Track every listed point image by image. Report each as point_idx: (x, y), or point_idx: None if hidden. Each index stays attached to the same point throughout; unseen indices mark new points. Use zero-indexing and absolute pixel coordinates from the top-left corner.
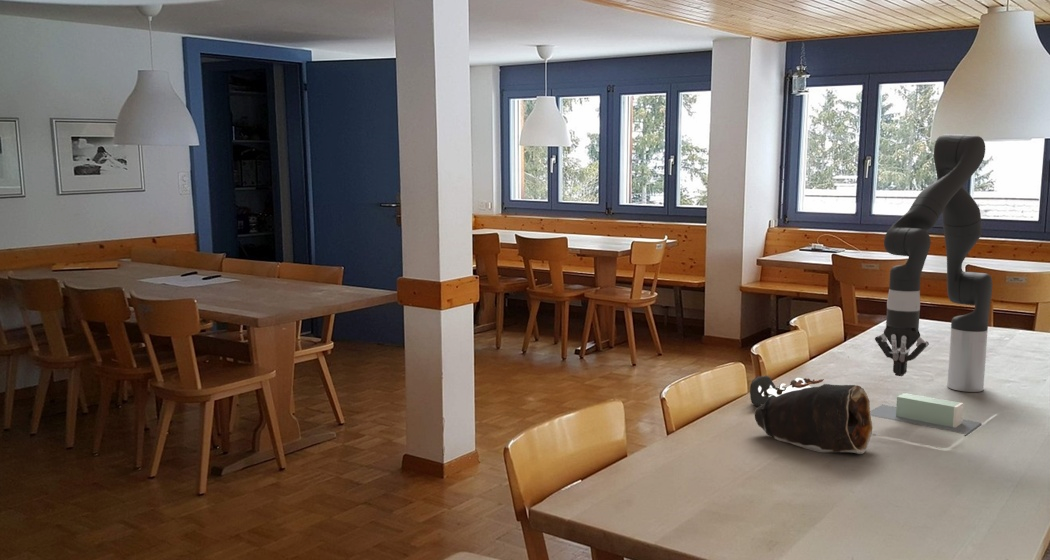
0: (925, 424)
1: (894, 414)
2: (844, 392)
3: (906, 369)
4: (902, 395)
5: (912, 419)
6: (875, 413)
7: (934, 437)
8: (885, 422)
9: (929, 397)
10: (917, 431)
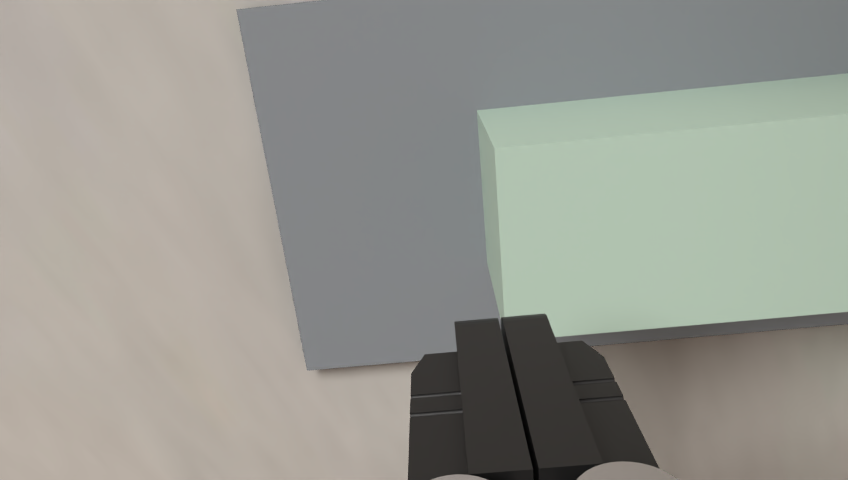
0: None
1: (460, 231)
2: None
3: (616, 391)
4: (525, 263)
5: None
6: (352, 307)
7: (818, 447)
8: None
9: (772, 132)
10: (702, 412)
